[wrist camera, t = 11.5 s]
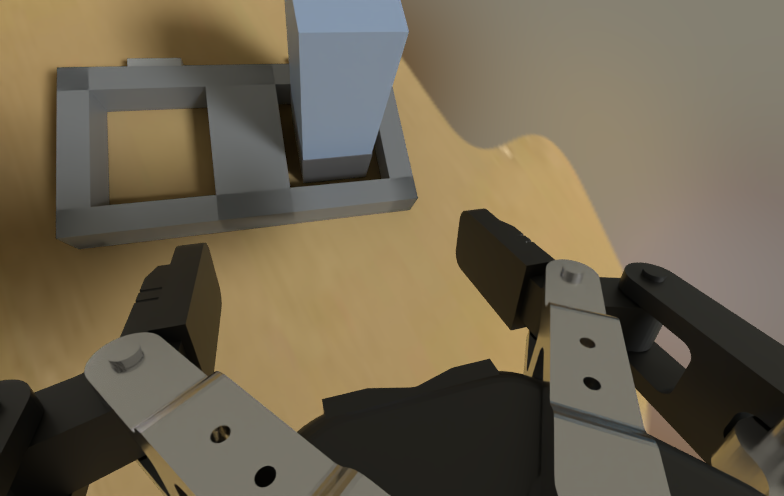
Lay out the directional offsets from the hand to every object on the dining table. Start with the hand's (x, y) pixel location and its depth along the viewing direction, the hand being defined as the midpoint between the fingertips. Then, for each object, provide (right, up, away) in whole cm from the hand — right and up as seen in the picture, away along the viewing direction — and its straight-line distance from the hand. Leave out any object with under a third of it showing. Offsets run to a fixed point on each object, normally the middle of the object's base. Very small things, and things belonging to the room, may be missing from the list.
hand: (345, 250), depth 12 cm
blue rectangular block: (-3, +7, +13) cm, 15 cm away
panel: (-7, +6, +12) cm, 15 cm away
